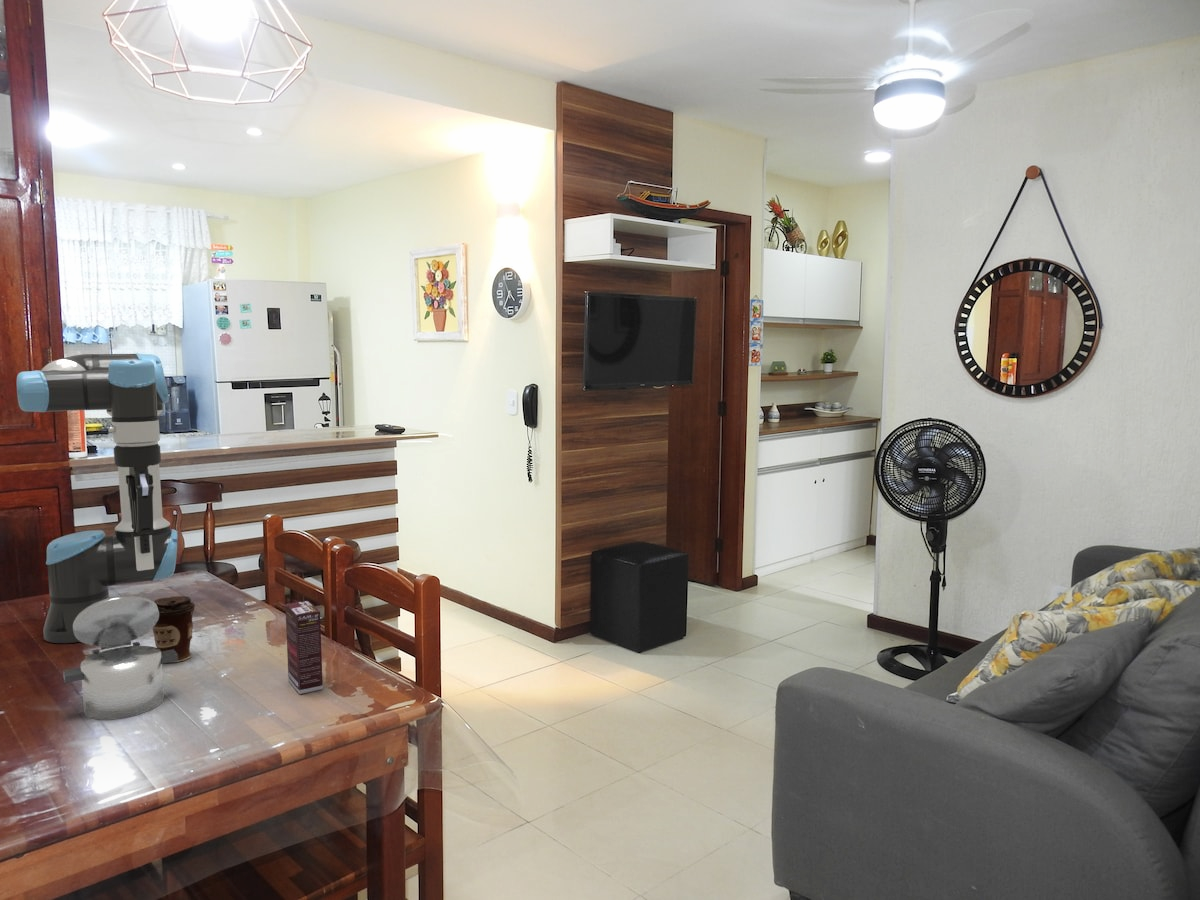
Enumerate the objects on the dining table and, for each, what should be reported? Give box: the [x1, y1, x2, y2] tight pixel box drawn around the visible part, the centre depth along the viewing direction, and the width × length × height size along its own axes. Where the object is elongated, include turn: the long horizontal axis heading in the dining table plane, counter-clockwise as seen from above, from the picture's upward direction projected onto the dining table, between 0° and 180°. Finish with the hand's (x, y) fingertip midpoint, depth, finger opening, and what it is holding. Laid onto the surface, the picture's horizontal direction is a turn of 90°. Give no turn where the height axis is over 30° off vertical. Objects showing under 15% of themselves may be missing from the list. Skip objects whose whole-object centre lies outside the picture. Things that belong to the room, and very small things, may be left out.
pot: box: [62, 641, 178, 721], centre depth 157 cm, size 14×18×9 cm
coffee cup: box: [152, 595, 195, 664], centre depth 179 cm, size 9×8×13 cm
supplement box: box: [285, 600, 324, 695], centre depth 165 cm, size 9×5×16 cm, turn 34°
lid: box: [73, 594, 159, 651], centre depth 158 cm, size 15×14×4 cm
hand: (145, 568), depth 157 cm, fingers closed
